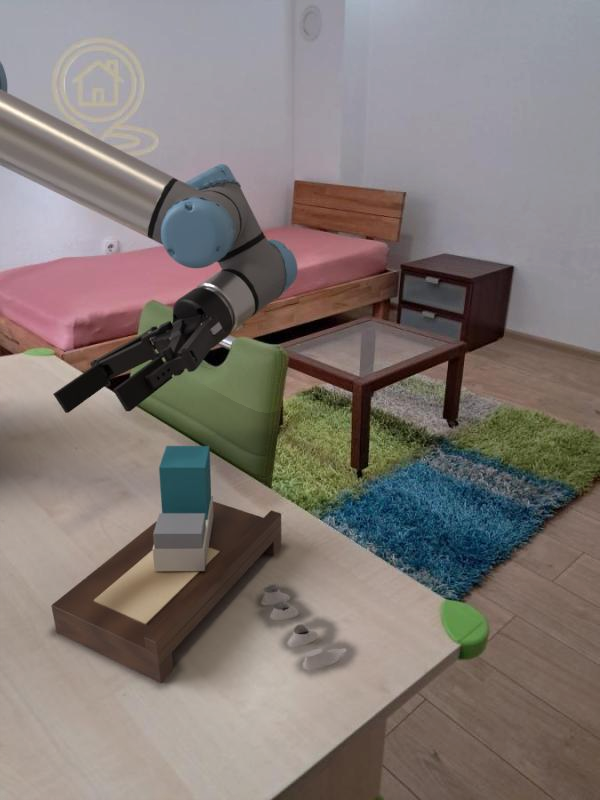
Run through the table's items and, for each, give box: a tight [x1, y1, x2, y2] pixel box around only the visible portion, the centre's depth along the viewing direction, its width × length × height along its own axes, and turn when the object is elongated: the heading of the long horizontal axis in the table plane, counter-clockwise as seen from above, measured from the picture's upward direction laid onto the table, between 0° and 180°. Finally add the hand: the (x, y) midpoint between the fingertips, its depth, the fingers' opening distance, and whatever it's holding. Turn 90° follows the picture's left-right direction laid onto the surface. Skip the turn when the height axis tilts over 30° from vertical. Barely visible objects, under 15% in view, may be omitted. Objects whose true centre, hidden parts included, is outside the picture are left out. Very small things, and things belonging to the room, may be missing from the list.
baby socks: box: [260, 584, 347, 671], centre depth 68 cm, size 12×5×3 cm, turn 29°
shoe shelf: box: [50, 500, 282, 684], centre depth 73 cm, size 14×24×6 cm, turn 152°
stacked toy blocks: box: [153, 445, 214, 571], centre depth 73 cm, size 11×6×10 cm, turn 2°
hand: (88, 402), depth 70 cm, fingers open, 13 cm apart
